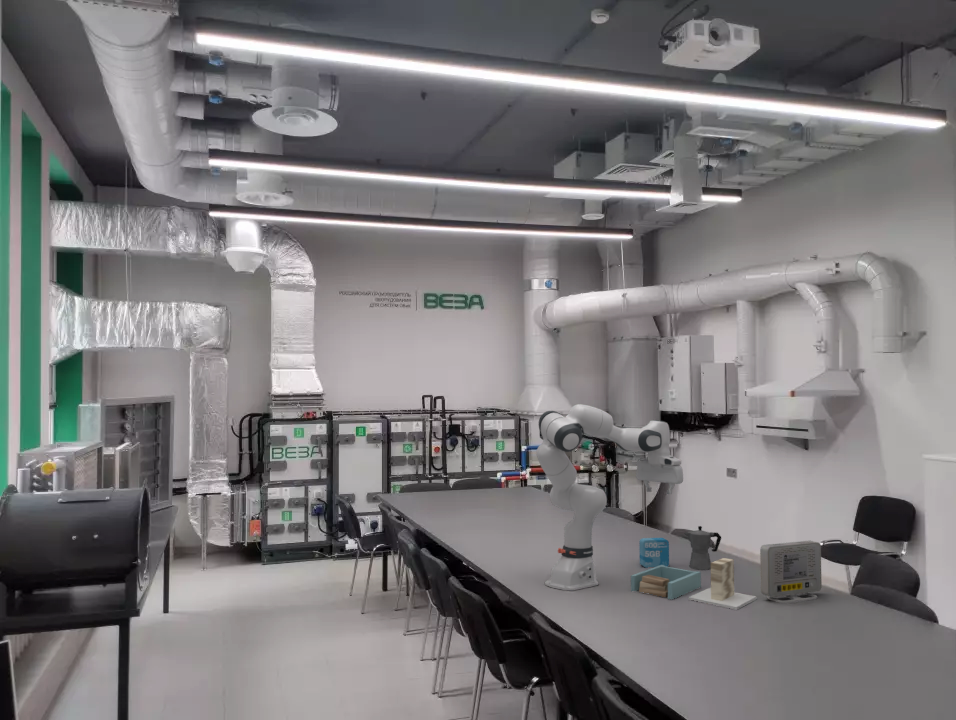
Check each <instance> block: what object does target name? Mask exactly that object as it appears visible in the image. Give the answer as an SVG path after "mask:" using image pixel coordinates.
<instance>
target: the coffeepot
mask: <svg viewBox="0 0 956 720" xmlns="http://www.w3.org/2000/svg"><path fill="white" fill-rule="evenodd" d="M697 527H698V530H691V531H686V532H684V535H685V536H686V537H687V539H688V541H689V542H690V543H689V544H690V548H691V549H692V550H691V554H690V560H689V568H690V567H691V569H693V570H695V571H708V570H709V571H710V570H711V563H712V562H711V558H710V553H709V549H710V544H711V538H715V537H716V540H715V544H714V548H713V549H711V551H712V552H715V553H716V552H717V551H718V550H719V546H720V544H721V541H722V536H721V534H719V532H712V531H711V532H709V531H705V530H702V529H703V526H701V525H698V526H697Z"/></svg>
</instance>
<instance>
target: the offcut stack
mask: <svg viewBox="0 0 956 720" xmlns="http://www.w3.org/2000/svg"><path fill="white" fill-rule="evenodd" d="M668 583H669V579H666V578H661V577H657V576H652V575H646V576H643V577H642V581H641V582H640V587H639V591H638V592H639V593H640V592H644V593H643V594H645V593H649V594H653V595H652V596H654V595H657V596H656V597H659V596H662V597H661V598H663V597H667V598H668ZM649 594H648V595H649Z"/></svg>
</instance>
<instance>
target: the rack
mask: <svg viewBox="0 0 956 720" xmlns="http://www.w3.org/2000/svg"><path fill="white" fill-rule="evenodd" d="M701 574H702V572H701V571H700V570H694V571H693V570H689V569H688V570H687V569H682V568H677V567H671V566H665V565H659V566H657V567H654V568H647V569H645V570H643V571H639V572H638V573H634V574H632V575H630V592H632V591H636V592H638V591H637V590H639V587H640V582H641V581H642V577H643V576H646V575H652V576H657V577H661V578H666V579H669V583H668V597H667V600H669V599H671V600H670V601H673V600H675V599H677V597H678V598H680V597H682V596H684V595H687V594H689V593H691V592H693V590H694V591H695V589H696V590H698V589H700V588H701V587H702V575H701ZM699 587H700V588H699ZM697 588H698V589H697ZM690 591H691V592H690ZM688 592H689V593H688ZM686 593H687V594H686ZM681 595H682V596H681ZM679 596H680V597H679ZM674 598H675V599H674ZM672 599H673V600H672Z"/></svg>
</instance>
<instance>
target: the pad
mask: <svg viewBox="0 0 956 720" xmlns="http://www.w3.org/2000/svg"><path fill="white" fill-rule="evenodd" d="M691 600H694V601H693V602H696V601H698V602H697V603H701V602H704V603H703V604H706V603H708V604H707V605H710V604H713V605H712V606H715V605H716V606H717V607H720V608H725V609H729V608H730V610H734V611H735V610H736V611H737V610H740V609H741V608H743V607H745V606H746V605H749V604H751V603H752V602H754V601H756V600H757V596H755V595H751V594H745V593H740V592H735V591H734V595H733V596H731V597H729V598H727V599H725V600H723V601H719V600H714V599H711V587H708V588H706V589H704V590H702V591H700V592H699V591H698V592H696V593H695V594H692V595H690V596H689V597H688V601H691Z"/></svg>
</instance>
